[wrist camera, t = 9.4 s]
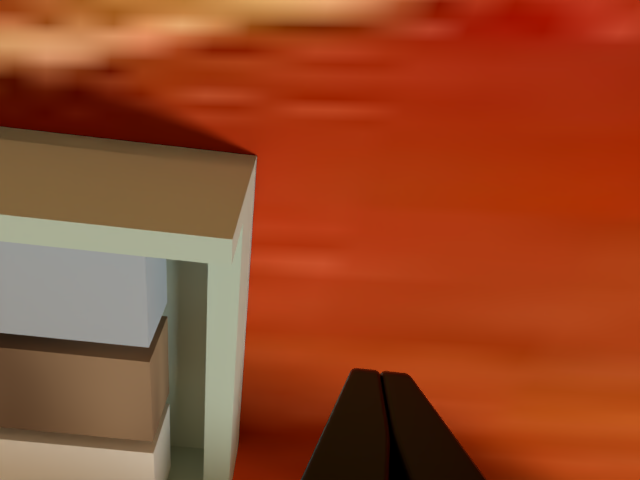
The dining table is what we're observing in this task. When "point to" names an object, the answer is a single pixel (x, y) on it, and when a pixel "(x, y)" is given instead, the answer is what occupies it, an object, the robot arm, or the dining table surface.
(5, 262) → the grey flat block
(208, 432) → the key bed
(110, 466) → the ivory key
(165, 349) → the brown rectangular block
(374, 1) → the dining table surface
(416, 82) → the dining table surface
